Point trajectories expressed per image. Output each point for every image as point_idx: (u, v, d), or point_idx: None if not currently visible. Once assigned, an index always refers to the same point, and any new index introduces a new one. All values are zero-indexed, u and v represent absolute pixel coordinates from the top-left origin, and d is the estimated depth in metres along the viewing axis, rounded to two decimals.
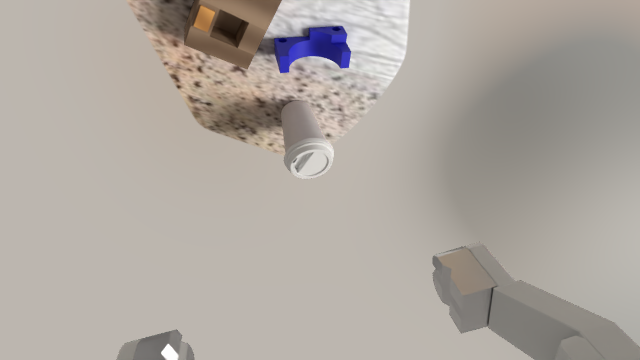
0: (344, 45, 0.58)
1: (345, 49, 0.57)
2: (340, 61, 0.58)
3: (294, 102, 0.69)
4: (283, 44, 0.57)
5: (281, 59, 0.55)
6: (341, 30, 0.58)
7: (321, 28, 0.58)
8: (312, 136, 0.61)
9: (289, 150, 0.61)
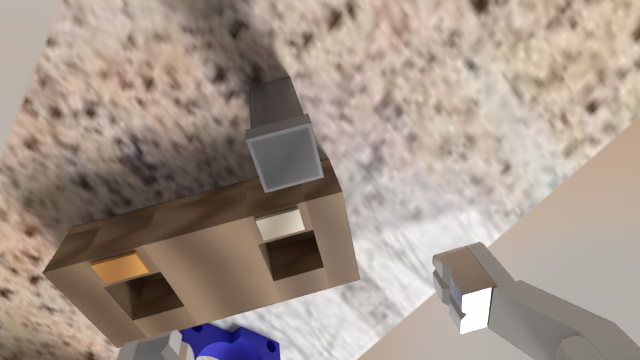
0: None
1: None
2: None
3: None
4: (194, 337, 0.35)
5: None
6: (276, 353, 0.40)
7: (254, 335, 0.40)
8: None
9: None
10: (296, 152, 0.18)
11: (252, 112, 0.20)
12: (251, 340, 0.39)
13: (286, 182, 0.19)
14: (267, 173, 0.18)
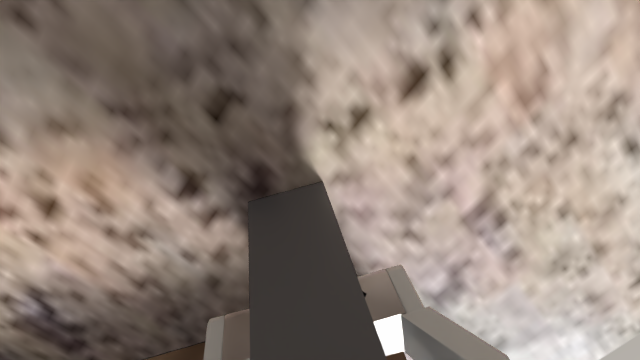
0: None
1: None
2: None
3: None
4: None
5: None
6: None
7: None
8: None
9: None
10: None
11: (254, 310, 0.09)
12: None
13: None
14: None
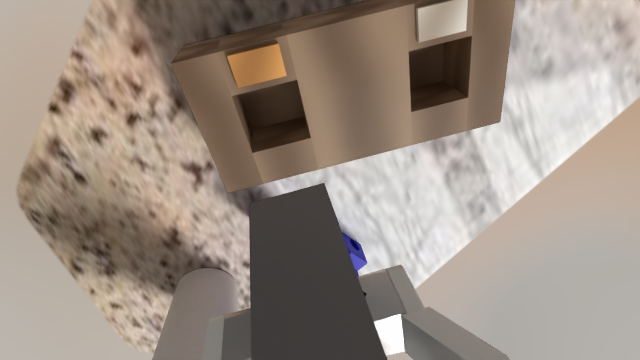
0: None
1: None
2: None
3: (223, 275, 0.37)
4: None
5: None
6: (360, 251, 0.38)
7: None
8: None
9: None
10: None
11: (255, 312, 0.09)
12: None
13: None
14: None
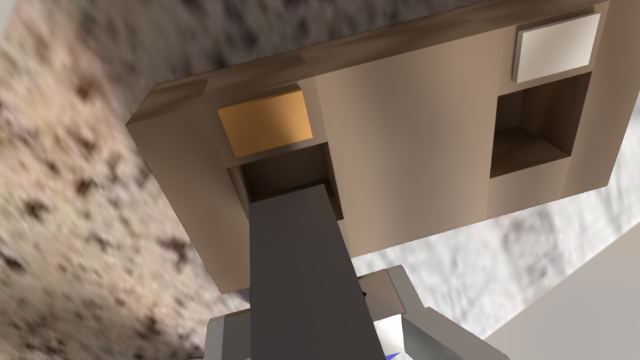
0: None
1: None
2: None
3: None
4: None
5: None
6: None
7: None
8: None
9: None
10: None
11: (255, 312, 0.09)
12: None
13: None
14: None
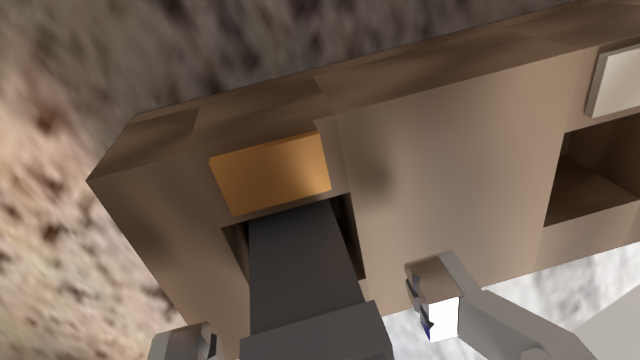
0: None
1: None
2: None
3: None
4: None
5: None
6: None
7: None
8: None
9: None
10: None
11: (253, 258, 0.11)
12: None
13: None
14: None
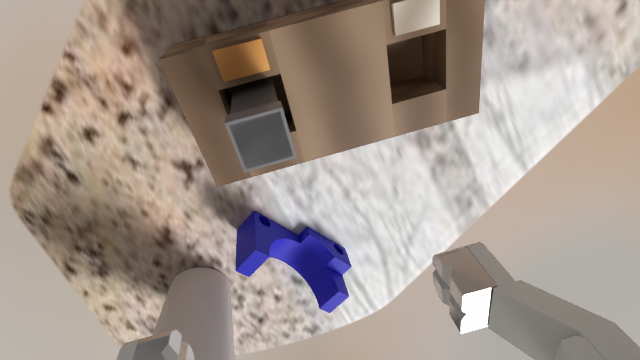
0: (340, 279, 0.37)
1: (342, 288, 0.36)
2: (325, 299, 0.36)
3: (216, 273, 0.37)
4: (265, 229, 0.34)
5: (255, 254, 0.30)
6: (344, 256, 0.39)
7: (321, 237, 0.38)
8: None
9: None
10: (270, 134, 0.20)
11: (233, 102, 0.23)
12: (319, 239, 0.37)
13: (263, 162, 0.21)
14: (245, 154, 0.20)
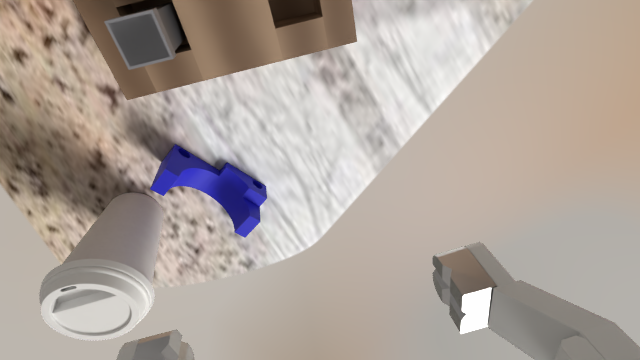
0: (256, 208, 0.42)
1: (255, 214, 0.41)
2: (240, 224, 0.40)
3: (147, 198, 0.42)
4: (182, 158, 0.38)
5: (165, 173, 0.35)
6: (262, 190, 0.43)
7: (241, 172, 0.43)
8: (136, 266, 0.33)
9: (75, 264, 0.30)
10: (146, 34, 0.24)
11: None
12: (237, 173, 0.42)
13: (144, 61, 0.25)
14: (127, 52, 0.25)
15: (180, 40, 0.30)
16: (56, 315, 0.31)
